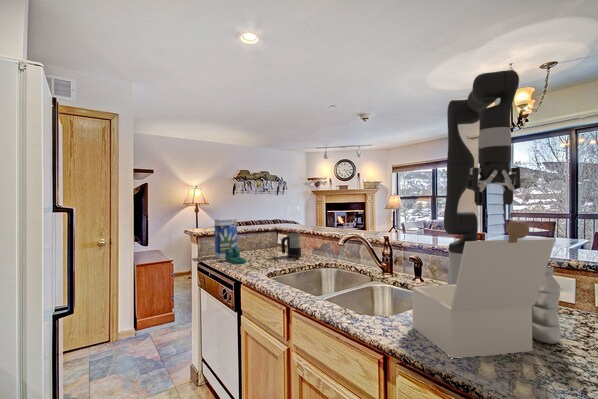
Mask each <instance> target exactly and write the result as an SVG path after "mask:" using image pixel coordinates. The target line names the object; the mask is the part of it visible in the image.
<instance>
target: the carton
mask: <svg viewBox="0 0 598 399" xmlns="http://www.w3.org/2000/svg"><path fill="white" fill-rule="evenodd" d="M455 287H456V284H455V285H448V284H443V285H442V284H441V285H429V286H428V285H427V286H412V288H411V292H412V294H411V297H412V298H411V299H412V302H411V304H412V328H413V329H414V330H416V331H417V332H418V333H419V334H420V335H422V336H423V337H424V338H425V337H426V340H427V341H429V342H430V343H431V342H432V343H431V344H433V346H435V345H436V346H437V347H438V348H437V347H436V346H435V347H436V348H437V349H439V348H440V349H441V350H442V351H444V352H445V353H446V354H447V355H449V356H450V357H451V358H457V357H471V358H476V357H475V356H481V357H490V355H491V356H499V355H500V354H501V355H509V354H508V353H511V354H519V352H521V353H530V352H533V337H532V305H531V306H518V307H505V308H492V309H479V310H466V311H453V312H452V311H451V306H452V301H453V296H454V292H455ZM440 349H439V350H440ZM441 350H440V351H441ZM442 351H441V352H442ZM529 351H530V352H529ZM517 352H518V353H517ZM445 353H444V354H445ZM446 354H445V355H446ZM447 355H446V356H447ZM451 358H450V359H451Z"/></svg>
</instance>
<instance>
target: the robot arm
mask: <svg viewBox="0 0 598 399" xmlns="http://www.w3.org/2000/svg"><path fill="white" fill-rule="evenodd" d="M519 84H520V76H519V74H518V72H517V71H515V70H514V69H504V70H496V71H488V72H483V73H480V74H478V75H477V76H475V78H474V80H473V83H472V90H471V92H469V94H468V96H467V98H457V99H452V100H450V101H449V103H448V105H447V113H446V114H447V115H446V116H447V118H446V119H447V120H446V121H447V143H448V144H447V158H446V160H447V161H446V195H445V196H446V197H445V206H444V214H443V227H444V230H445V232H446V233H447V234H448V235H462V236H461V237H460V238H459V239H457V240H456V241H453V242H450V243H449V245H448V269H447V285H455V284H456V282H457V278H458V273H459V268H460V263H461V259H462V254H463V249H464V245H465V241H478V226H479V225H478V224H479V222H478V217H477V214H476V212H474V211H472V210H458V209H459V208H458V206H459V203H460V199H461V198H462V197H463V194H464V192H465V191H466V190H467V189H468V190H470V191H473V193H474V197H473V198H474V199H473V200H474V204H475V206H479V207H480V206H481V207H482V206H484V205H485V192H483V191H484V190H485V189H486V187H488V186H489V185H490V184H498V185H500V187H502V189H503V191H502V192H503V193H502V194H503V197H502V198H503V200H502V203H503V205H508V206H509V205H510V206H511V205H512V204H513V202H514V191H516V190H517V189H520V188H521V184H522V183H521V168H520V167H519V166H511V167H510V166H509V164H510V162H511V161H512V133H511V112H512V107H513V104H514V100H515V96H516V94H517V90H518V88H519ZM497 99H500V100H499V103H498V104H496V105H492V104H493V103H495V102H496V101H497ZM491 105H492V106H491ZM477 122H478V124H479V125H478V126H479V127H478V128H479V131H478V132H479V134H478V140H477V141H478V143H477V146H478V147H477V148H478V149H477V150H478V151H477V159H478V160H477V163H478V164H479V167H478V166H476V167H475V162H476V161H475V157H474V155H473V154H472V152H471V150H470V149H469V147H468V146H467V145H466V144H465V142H464V141H463V138H462V137H461V134H460V131H459V125H473V124H476V123H477Z"/></svg>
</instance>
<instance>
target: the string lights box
mask: <svg viewBox="0 0 598 399" xmlns="http://www.w3.org/2000/svg"><path fill="white" fill-rule="evenodd" d="M237 221H238V219H237V218H235V217H233V218H214V258H217V259H225V251H226V249H229V248H231V249H233V248H238V226H237V225H238V224H237V223H238V222H237Z"/></svg>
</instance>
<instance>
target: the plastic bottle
mask: <svg viewBox="0 0 598 399" xmlns="http://www.w3.org/2000/svg"><path fill="white" fill-rule="evenodd" d="M554 275H555V272H554V266H550V265H547V268H546V271H545V274H544V278H543V281H542V284H541V287H540V290H539V294H538V297H537V300H536V303H535V305H532V339H535V340H536V341H538V342H541V343H545V344H550V345H552V344H553V345H554V344H555V345H556V344H558V343H559V342H560V340H561V337H562V333H561V327H560V323H559V315H558V314H559V311H558V310H559V301H560V295H561V290H562V289H561V286H560V283H558V281H557V280H556V279H555V277H553V276H554Z"/></svg>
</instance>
